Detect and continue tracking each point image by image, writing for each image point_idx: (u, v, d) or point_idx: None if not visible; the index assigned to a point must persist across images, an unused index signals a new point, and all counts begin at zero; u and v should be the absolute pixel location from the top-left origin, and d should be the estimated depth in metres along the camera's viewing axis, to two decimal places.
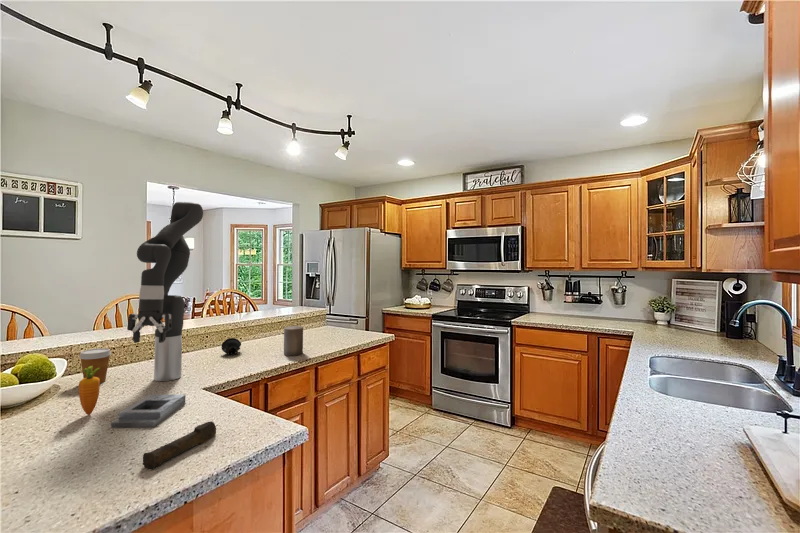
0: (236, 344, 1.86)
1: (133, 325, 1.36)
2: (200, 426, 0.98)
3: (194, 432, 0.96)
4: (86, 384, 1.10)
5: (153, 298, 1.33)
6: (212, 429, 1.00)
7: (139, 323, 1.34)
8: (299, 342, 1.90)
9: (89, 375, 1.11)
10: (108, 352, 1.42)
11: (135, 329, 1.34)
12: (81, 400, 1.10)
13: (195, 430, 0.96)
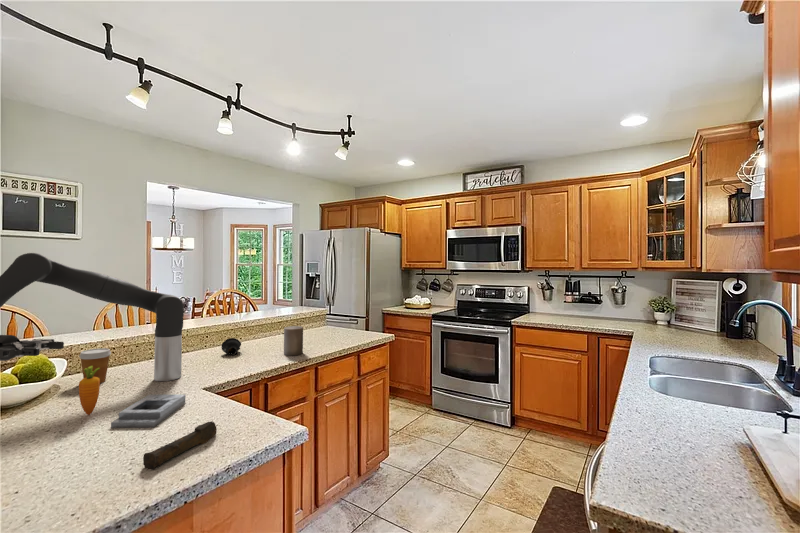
0: (236, 344, 1.86)
1: (47, 341, 1.17)
2: (200, 426, 0.98)
3: (194, 432, 0.96)
4: (86, 384, 1.10)
5: None
6: (212, 429, 1.00)
7: None
8: (299, 342, 1.90)
9: (89, 375, 1.11)
10: (108, 352, 1.42)
11: (46, 348, 1.15)
12: (81, 400, 1.10)
13: (195, 430, 0.96)
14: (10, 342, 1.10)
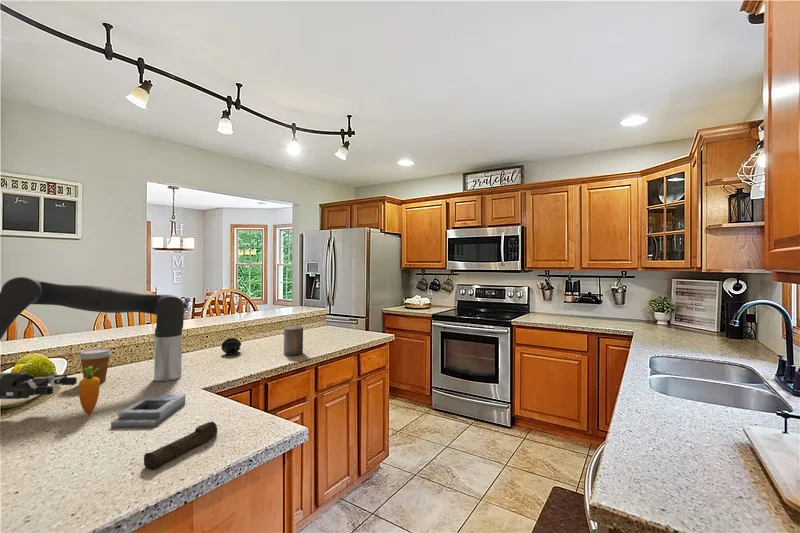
0: (236, 344, 1.86)
1: None
2: (201, 426, 0.98)
3: (195, 432, 0.96)
4: (86, 384, 1.10)
5: None
6: (213, 429, 1.00)
7: None
8: (299, 342, 1.90)
9: (89, 375, 1.11)
10: (108, 352, 1.42)
11: None
12: (81, 400, 1.10)
13: (196, 430, 0.96)
14: (24, 380, 1.11)
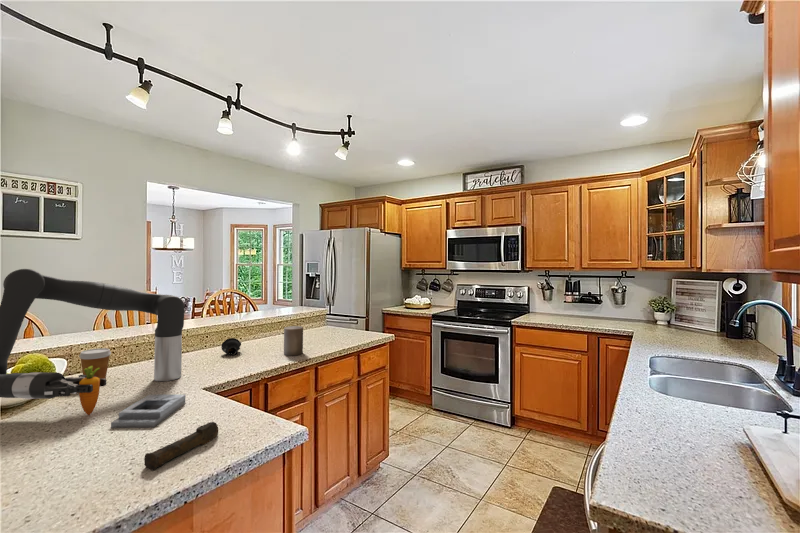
0: (236, 344, 1.86)
1: None
2: (202, 427, 0.97)
3: (196, 433, 0.95)
4: (86, 384, 1.10)
5: (32, 398, 1.09)
6: (214, 430, 1.00)
7: None
8: (299, 342, 1.90)
9: (89, 375, 1.11)
10: (108, 352, 1.42)
11: None
12: (81, 400, 1.11)
13: (197, 431, 0.96)
14: (56, 380, 1.12)
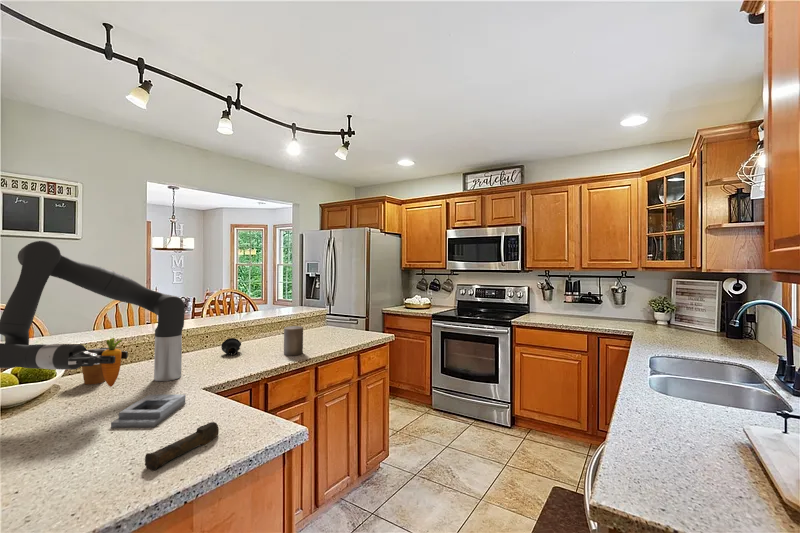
0: (236, 344, 1.86)
1: None
2: (203, 427, 0.97)
3: (196, 433, 0.95)
4: (108, 355, 1.11)
5: (55, 368, 1.10)
6: (215, 430, 1.00)
7: None
8: (299, 342, 1.90)
9: (111, 347, 1.12)
10: None
11: None
12: (103, 371, 1.11)
13: (197, 431, 0.96)
14: (79, 351, 1.12)
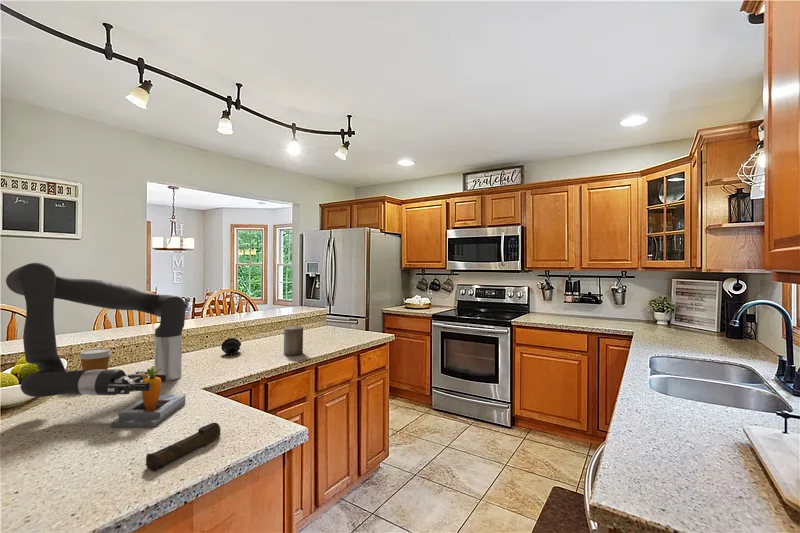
0: (236, 344, 1.86)
1: None
2: (204, 427, 0.97)
3: (198, 433, 0.95)
4: None
5: (96, 394, 1.10)
6: (216, 430, 0.99)
7: None
8: (299, 342, 1.90)
9: (152, 375, 1.13)
10: (108, 352, 1.42)
11: None
12: (144, 400, 1.12)
13: (199, 431, 0.96)
14: (119, 376, 1.13)
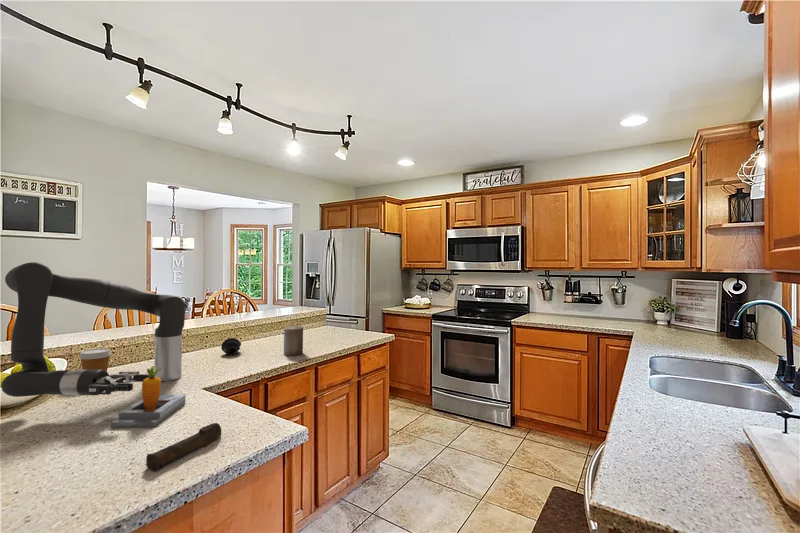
0: (236, 344, 1.86)
1: None
2: (205, 427, 0.97)
3: (199, 433, 0.95)
4: (149, 384, 1.12)
5: (78, 394, 1.10)
6: (217, 431, 0.99)
7: None
8: (299, 342, 1.90)
9: (152, 375, 1.13)
10: (108, 352, 1.42)
11: None
12: (144, 400, 1.12)
13: (200, 431, 0.96)
14: (101, 377, 1.13)
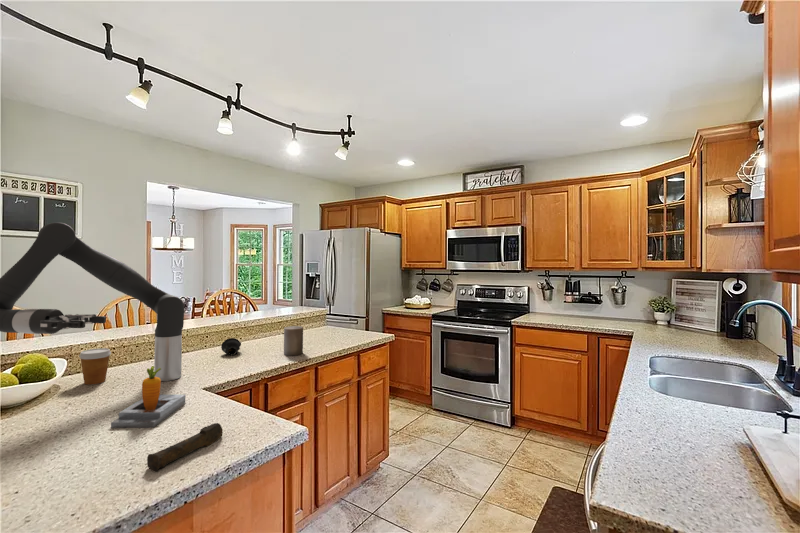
0: (236, 344, 1.86)
1: (89, 316, 1.20)
2: (206, 428, 0.97)
3: (200, 434, 0.95)
4: (149, 384, 1.12)
5: (32, 332, 1.11)
6: (218, 431, 0.99)
7: None
8: (299, 342, 1.90)
9: (152, 375, 1.13)
10: (108, 352, 1.42)
11: None
12: (144, 400, 1.12)
13: (201, 432, 0.96)
14: (56, 316, 1.13)
